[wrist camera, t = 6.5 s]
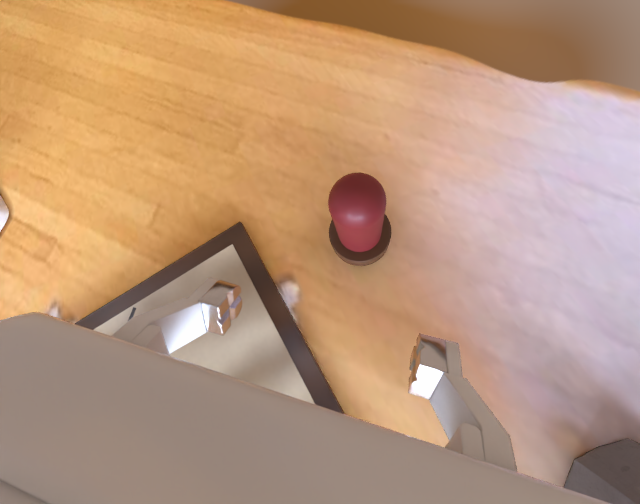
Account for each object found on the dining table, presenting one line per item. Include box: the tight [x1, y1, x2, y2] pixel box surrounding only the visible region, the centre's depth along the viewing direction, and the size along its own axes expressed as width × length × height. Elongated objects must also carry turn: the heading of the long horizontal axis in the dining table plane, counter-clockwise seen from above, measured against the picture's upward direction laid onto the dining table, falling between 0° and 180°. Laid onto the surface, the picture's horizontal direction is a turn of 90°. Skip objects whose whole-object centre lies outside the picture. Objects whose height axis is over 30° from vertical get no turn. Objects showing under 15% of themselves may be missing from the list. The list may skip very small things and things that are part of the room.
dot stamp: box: [328, 173, 391, 266], centre depth 20 cm, size 5×5×10 cm
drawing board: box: [75, 222, 344, 414], centre depth 24 cm, size 22×28×1 cm
